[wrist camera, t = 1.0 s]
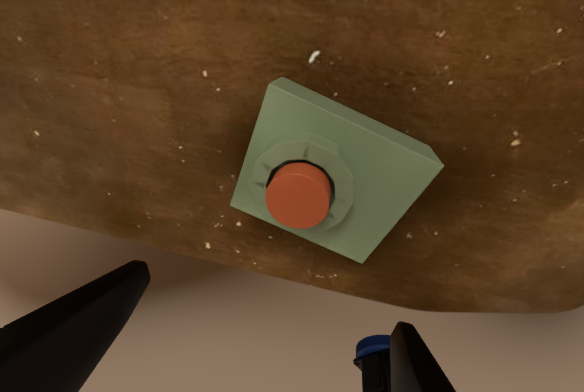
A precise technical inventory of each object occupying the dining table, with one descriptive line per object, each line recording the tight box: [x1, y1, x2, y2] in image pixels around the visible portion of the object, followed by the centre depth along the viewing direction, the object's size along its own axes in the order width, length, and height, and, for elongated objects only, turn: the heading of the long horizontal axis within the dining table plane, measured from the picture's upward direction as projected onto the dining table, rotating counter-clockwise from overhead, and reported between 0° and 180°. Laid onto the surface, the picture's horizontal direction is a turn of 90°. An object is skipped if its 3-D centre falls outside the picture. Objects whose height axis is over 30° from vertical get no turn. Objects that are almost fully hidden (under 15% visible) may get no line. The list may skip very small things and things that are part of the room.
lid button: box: [265, 162, 331, 229], centre depth 16 cm, size 4×4×2 cm
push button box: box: [230, 77, 444, 264], centre depth 19 cm, size 12×10×6 cm
